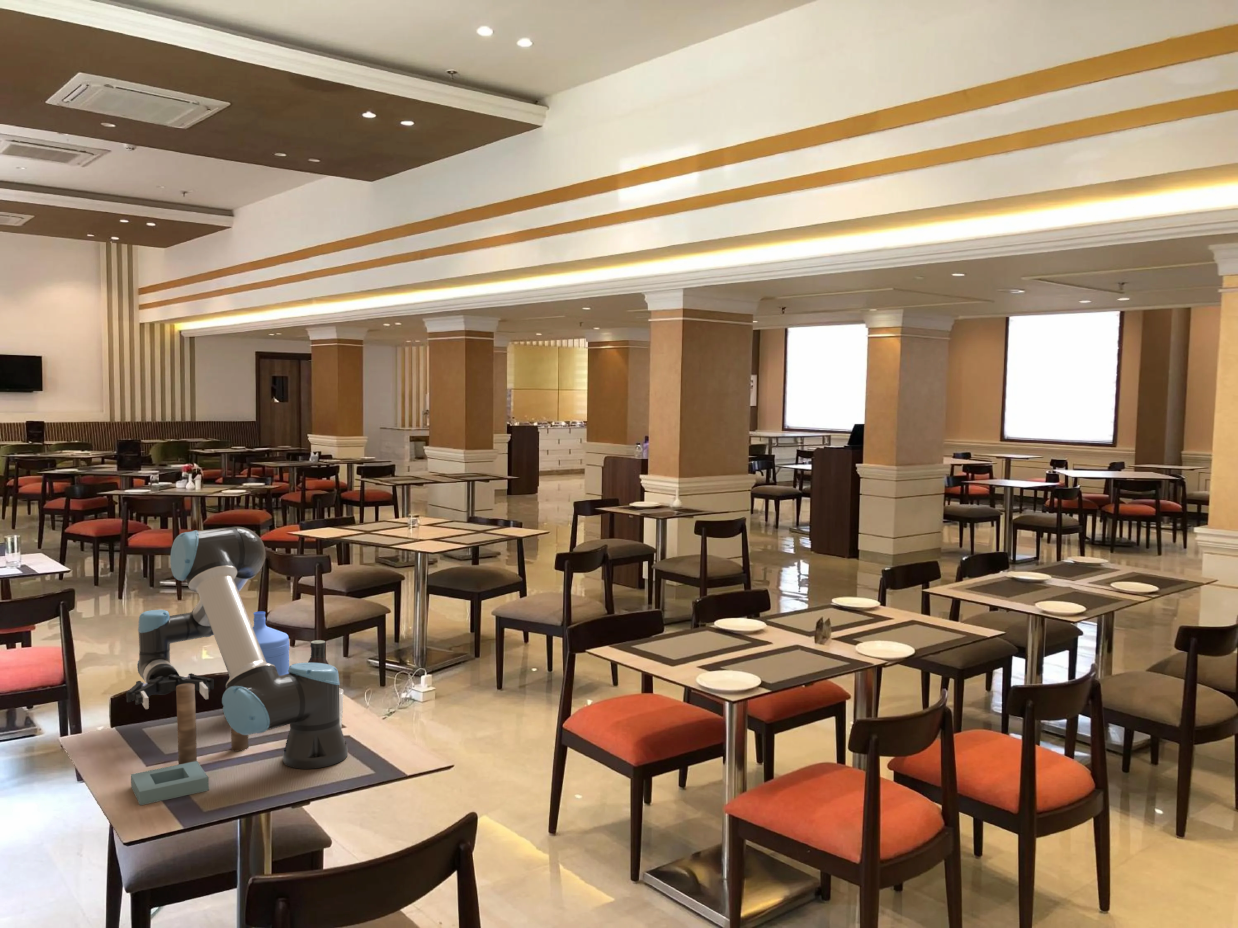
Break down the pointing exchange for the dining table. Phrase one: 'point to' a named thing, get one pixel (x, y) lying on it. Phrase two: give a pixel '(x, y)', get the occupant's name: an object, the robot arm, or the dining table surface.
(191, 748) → the tall peg
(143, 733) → the dining table surface
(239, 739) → the short peg
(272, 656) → the water jug
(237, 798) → the dining table surface
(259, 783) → the dining table surface
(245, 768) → the dining table surface
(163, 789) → the hollow square block
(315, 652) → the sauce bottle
